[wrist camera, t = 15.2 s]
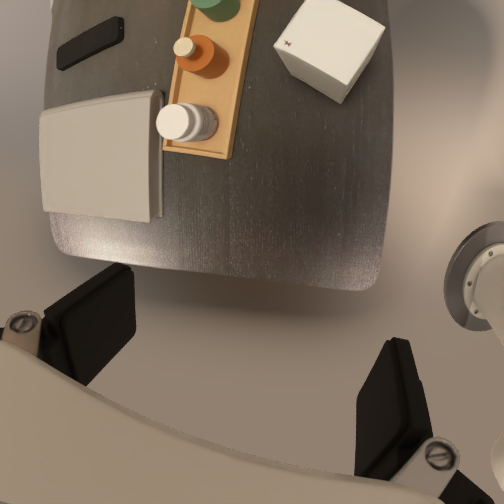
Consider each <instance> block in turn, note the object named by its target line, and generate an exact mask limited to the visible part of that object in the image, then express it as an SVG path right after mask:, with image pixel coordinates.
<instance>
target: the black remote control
mask: <svg viewBox="0 0 504 504" xmlns="http://www.w3.org/2000/svg"><path fill="white" fill-rule="evenodd" d="M123 37H124V25H123V18H121V17H117V16H115V17H112V18H110V19H108V20H106V21H104V22H102V23H100V24H98V25H96V26H94V27H93V28H91V29H89V30H87V31H85V32H83V33H82V34H80V35H78V36H76V37H75V38H73V39H71V40H70V41H68V42H66V43H65V44H63V45H62V46H60V47H59V48H58V50H57V69H58V70H61V71H63V70H65V69H67V68H69V67H71V66H73V65H74V64H76V63H78V62H80V61H82V60H84V59H86V58H88V57H90V56H92V55H94V54H96V53H98V52H100V51H102V50H104V49H106V48H108V47H111V46H113V45H115V44H117V43H119V42H121V41H122V39H123Z"/></svg>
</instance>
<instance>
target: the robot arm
mask: <svg viewBox="0 0 504 504" xmlns="http://www.w3.org/2000/svg"><path fill="white" fill-rule="evenodd" d="M462 294H463V300H464V303H465V305H466V307H467V309H468V310H469V311H470V313H471V314H472V315H474V316H475V317H477V318H480V319H487V321H488V322H489V324H490V325H491V327H492V329H493V330H494V332H495V333H496V335H497V336H498V338H499V340H500V341H501V343H502V344H503V346H504V243H496V244H493V245H490V246H488V247H487V248H485V249H483V250H482V251H481V252H480V253H479V254H478V255H477V256H476V257H475V258H474V260H473V261H472V262H471V264H470V266H469V267H468V269H467V272H466V274H465V277H464V281H463V287H462ZM44 314H45V317H44V318H43V319H41V317H40V315H39V314H37V313H36V312H33V311H21V312H18V313H15V314H14V315H12V316H11V317H10V318H9V319H8V320H7V322H6V325H5V327H4V328H0V504H495V503H494V501H493V500H492V499H491V497H490V496H488V495H487V494H486V493H485V492H484V491H483V490H481V489H480V488H479V487H478V486H477V485H475V484H474V483H473V482H472V481H471V480H469V479H468V478H467V477H466V476H465V475H463V474H462V473H461V472H460V471H459V470H457V468H458V466H459V463H460V455H459V452H458V450H457V448H456V447H455V445H454V444H453V443H452V442H450V441H449V440H447V439H445V438H442V437H433V432H432V427H431V422H430V417H429V412H428V407H427V403H426V398H425V394H424V389H423V386H422V382H421V381H420V380H419V377H418V373H417V369H416V365H415V361H414V357H413V354H412V350H411V346H410V343H409V341H408V340H405V339H400V338H396V337H393V338H392V339H391V340H390V341H389V340H387V341H386V342H385V344H384V345H383V348H382V350H381V352H380V354H379V356H378V358H377V360H376V362H375V364H374V366H373V368H372V370H371V371H370V373H369V375H368V377H367V379H366V381H365V383H364V385H363V386H362V388H361V390H360V392H359V394H358V397H357V402H356V403H357V404H356V413H357V414H356V450H355V451H356V452H355V470H354V476H352V475H343V474H338V473H332V472H326V471H320V470H315V469H310V468H305V467H300V466H295V465H290V464H286V463H281V462H277V461H273V460H269V459H265V458H261V457H257V456H254V455H250V454H246V453H243V452H240V451H236V450H233V449H230V448H226V447H223V446H220V445H217V444H214V443H211V442H208V441H205V440H203V439H200V438H197V437H194V436H192V435H189V434H186V433H184V432H181V431H178V430H176V429H173V428H171V427H168V426H166V425H163V424H161V423H159V422H156V421H154V420H152V419H150V418H147V417H145V416H143V415H141V414H139V413H136V412H134V411H132V410H130V409H128V408H126V407H124V406H122V405H120V404H117V403H116V402H114V401H112V400H110V399H108V398H106V397H104V396H102V395H100V394H98V393H96V392H95V391H93V390H91V389H89V388H87V387H86V386H87V385H88V384H89V383H90V382H91V381H92V380H93V379H94V377H95V376H96V375H97V374H98V373H99V372H100V371H101V370H102V369H103V368H104V367H105V366H106V364H108V363H109V361H110V360H111V359H112V358H113V357H114V356H115V355H116V354H117V353H118V352H119V351H120V350H121V349H122V348H123V347H124V346H125V344H127V342H129V340H130V339H131V338H132V337H133V336H134V334H135V332H136V315H135V289H134V273H133V271H131V268H130V267H129V266H127V265H124V264H121V263H118V262H116V263H114V264H112V265H111V266H109V267H108V268H106V269H104V270H103V271H102V272H100V273H98V274H97V275H95V276H94V277H92V278H91V279H89V280H88V281H86V282H85V283H83V284H82V285H80V286H79V287H77V288H76V289H74V290H73V291H71V292H70V293H68V294H67V295H66V296H64V297H63V298H61V299H60V300H58V301H57V302H55V303H54V304H53V305H51V306H50V307H48V308H47V309H46V310H44ZM491 466H492V470H493V473H494V475H495V477H496V480H497V481H498V483H499V485H500V487H501V489H502V490H503V492H504V431H503V432H502V433H501V434H500V436H499V437H498V438H497V439H496V441H495V443H494V445H493V447H492V450H491Z"/></svg>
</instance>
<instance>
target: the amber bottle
mask: <svg viewBox="0 0 504 504" xmlns="http://www.w3.org/2000/svg"><path fill="white" fill-rule="evenodd" d="M174 53H175V54H176V60H177V63H178V65H179V66H180V67H181V68H182V69H183V70H185V71H188V72H190V73H193V74H195V75H198V76H200V77H203V78H205V79H214V78H217V77H219V76H221V75H222V74H223V73H224V72H225V71H226V70H227V68H228V66H229V55H228V53H227V52H226V50H224V49H223V48H222V47H221V46H219V45H218V44H216V43H215V42H214V41H212V40H211V39H210V38H208V37H206V36H204V35H193V36H190V37H188V38H187V37H184V38H181V39H179V40H178V41H177V42H176V43H175V45H174Z"/></svg>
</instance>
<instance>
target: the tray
mask: <svg viewBox="0 0 504 504" xmlns="http://www.w3.org/2000/svg"><path fill="white" fill-rule="evenodd" d="M239 1H240V10H239V12H238V13H237V15H236V16H235V17H233V18H232V19H230V20H228V21H225V22H215V21H212V20H211V19H209V18H208V17H207V16H206V15H205V14H203V13H202V12H201V11H200V10H198V9H197V8H196V7H195V6H194V5H192V3H191V2H190V0H189V1H188V5H187V9H186V14H185V18H184V22H183V27H182V31H181V36H180V39H181V38H184V37H187V38H188V37H190V36H193V35H204V36H206V37H208V38H210V39H211V40H212V41H214V42H215V43H216V44H218V45H219V46H221V47H222V48H223V49H224V50H226V52H227V53H228V55H229V66H228V68H227V70H226V71H225V72H224V73H223V74H222V75H221V76H219V77H217V78H214V79H205V78H203V77H200V76H198V75H195V74H193V73H190V72H188V71H185V70H183V69H182V68H181V67H180V66H179V65H178V63H177V60H176V61H175V66H174V72H173V78H172V83H171V90H170V96H169V102H168V105H170V104H177V103H181V102H187V103H192V104H197V105H202V106H207V107H209V108H211V109H213V110H214V111H215V113H216V114H217V117H218V121H219V123H218V128H217V131H216V133H215V134H214V135H213V136H212V137H211V138H209V139H208V140H205V141H195V142H176V141H174V140H169V139H166V138H164V139H163V148H162V150H166V151H174V152H181V153H188V154H195V155H202V156H208V157H215V158H221V159H231V158H232V151H233V145H234V138H235V132H236V126H237V120H238V114H239V108H240V102H241V96H242V90H243V84H244V79H245V73H246V67H247V62H248V56H249V51H250V45H251V40H252V35H253V30H254V25H255V19H256V14H257V9H258V4H259V0H239Z"/></svg>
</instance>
